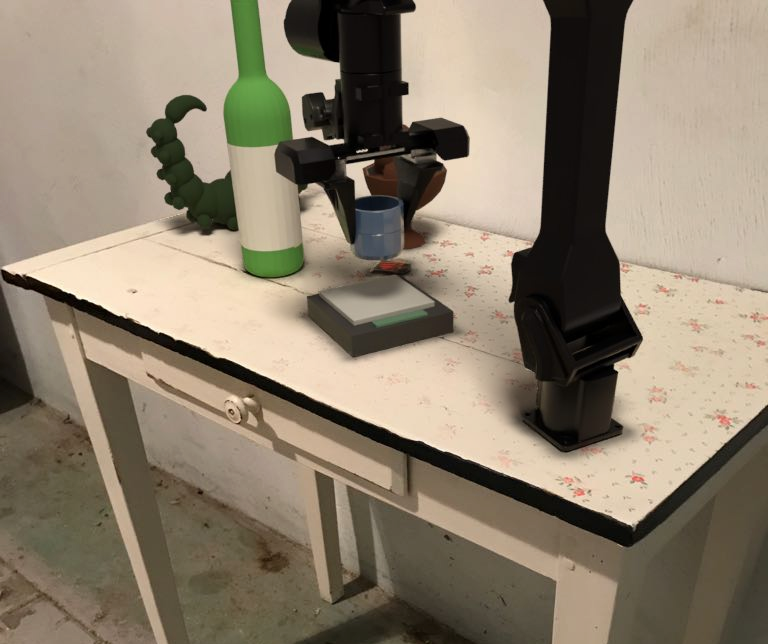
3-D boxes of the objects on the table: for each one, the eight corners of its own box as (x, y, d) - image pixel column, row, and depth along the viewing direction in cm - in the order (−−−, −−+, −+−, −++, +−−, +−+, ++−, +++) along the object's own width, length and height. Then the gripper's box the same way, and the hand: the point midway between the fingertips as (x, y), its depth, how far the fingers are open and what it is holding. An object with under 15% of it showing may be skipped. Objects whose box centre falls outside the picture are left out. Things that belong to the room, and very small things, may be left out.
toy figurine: (194, 257, 114) (344, 205, 124) (156, 111, 102) (325, 66, 112) (167, 240, 120) (311, 191, 130) (128, 100, 108) (290, 58, 118)
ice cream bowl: (440, 257, 107) (441, 133, 98) (356, 253, 109) (350, 131, 100) (451, 230, 115) (453, 113, 106) (373, 227, 117) (369, 113, 108)
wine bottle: (233, 267, 106) (193, -6, 88) (284, 253, 110) (256, -12, 91) (264, 284, 101) (228, -2, 83) (316, 269, 104) (293, -9, 86)
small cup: (413, 255, 85) (413, 205, 82) (364, 265, 83) (362, 215, 80) (388, 239, 89) (387, 192, 86) (341, 249, 87) (338, 200, 84)
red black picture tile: (410, 274, 102) (410, 270, 101) (369, 274, 102) (369, 270, 102) (412, 261, 105) (412, 257, 105) (372, 261, 106) (372, 257, 106)
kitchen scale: (453, 332, 88) (454, 305, 87) (352, 357, 84) (351, 330, 82) (401, 294, 97) (401, 270, 95) (308, 316, 93) (305, 290, 91)
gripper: (417, 48, 84) (418, 203, 94) (245, 67, 78) (265, 232, 87) (475, 62, 76) (469, 230, 86) (288, 85, 70) (305, 264, 79)
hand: (377, 238), depth 85 cm, fingers closed on small cup, 6 cm apart
